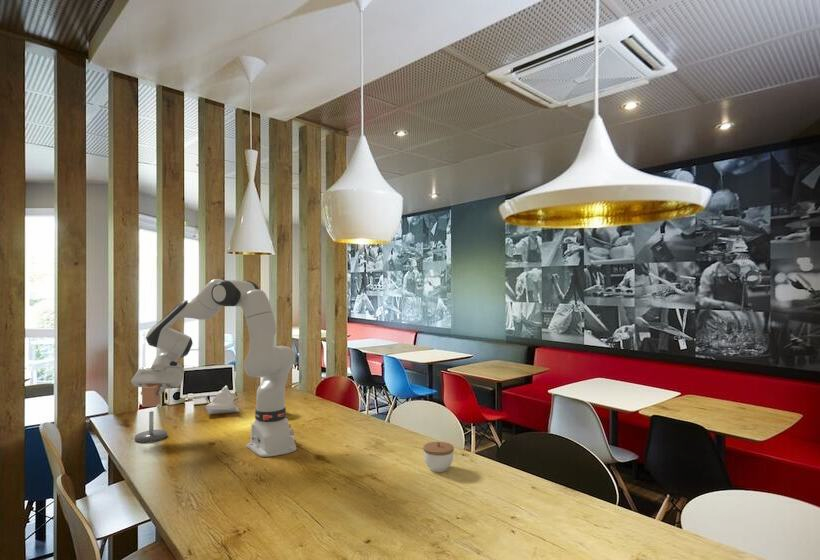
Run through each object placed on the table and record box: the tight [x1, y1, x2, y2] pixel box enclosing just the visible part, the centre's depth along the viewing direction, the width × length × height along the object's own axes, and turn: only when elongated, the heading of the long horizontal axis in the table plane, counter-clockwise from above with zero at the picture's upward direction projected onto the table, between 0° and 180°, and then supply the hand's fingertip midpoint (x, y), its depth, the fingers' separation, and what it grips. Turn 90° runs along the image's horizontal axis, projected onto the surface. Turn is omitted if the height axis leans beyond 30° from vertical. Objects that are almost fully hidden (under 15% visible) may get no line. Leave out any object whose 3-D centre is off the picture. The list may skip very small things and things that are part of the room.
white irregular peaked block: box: [205, 385, 240, 415], centre depth 231 cm, size 12×15×14 cm
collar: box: [141, 385, 162, 408], centre depth 192 cm, size 5×5×8 cm
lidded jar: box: [423, 441, 455, 473], centre depth 160 cm, size 11×11×9 cm
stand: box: [134, 410, 168, 444], centre depth 192 cm, size 12×12×11 cm
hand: (150, 394), depth 192 cm, fingers closed on collar, 5 cm apart
